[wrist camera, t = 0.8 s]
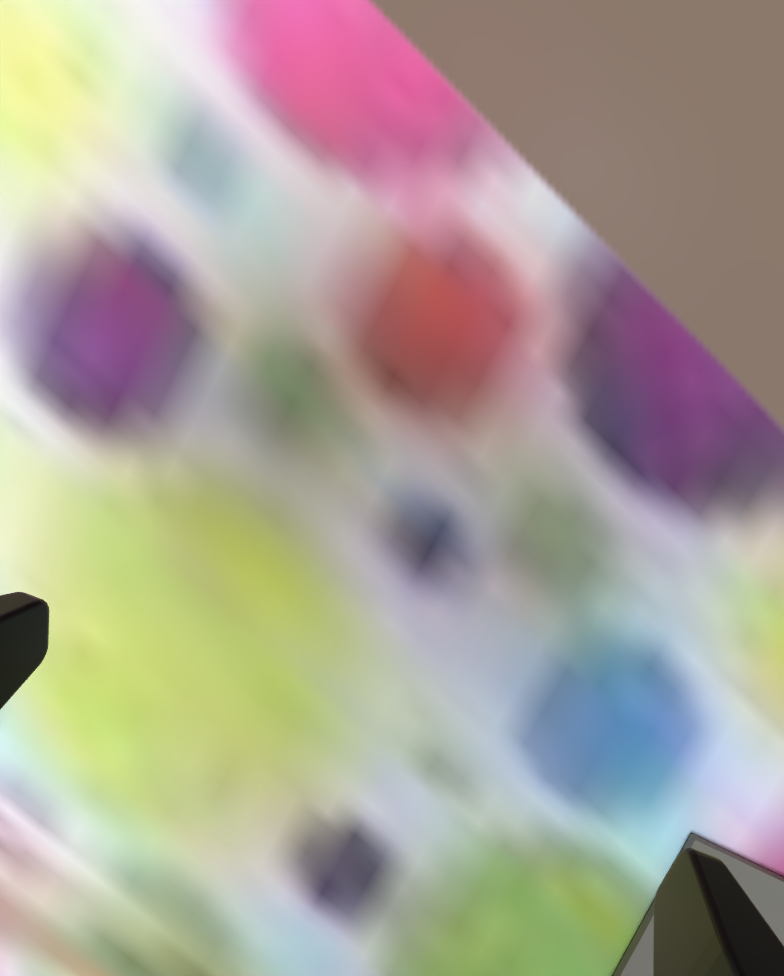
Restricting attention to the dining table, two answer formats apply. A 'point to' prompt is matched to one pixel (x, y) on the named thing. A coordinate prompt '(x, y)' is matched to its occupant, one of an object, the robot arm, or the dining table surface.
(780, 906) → the mat
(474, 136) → the dining table surface
